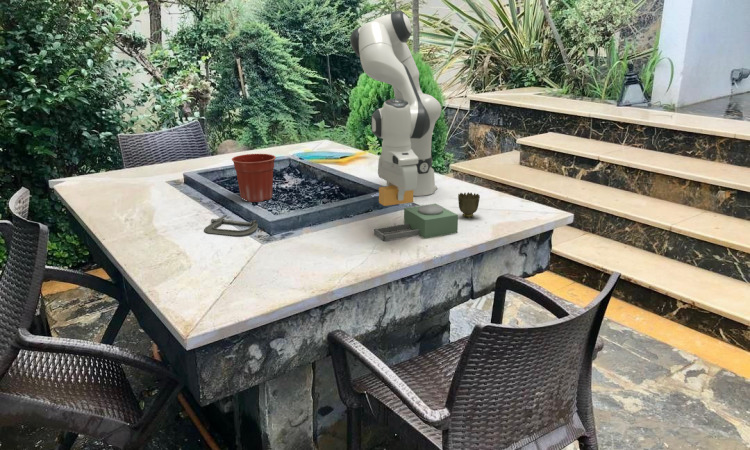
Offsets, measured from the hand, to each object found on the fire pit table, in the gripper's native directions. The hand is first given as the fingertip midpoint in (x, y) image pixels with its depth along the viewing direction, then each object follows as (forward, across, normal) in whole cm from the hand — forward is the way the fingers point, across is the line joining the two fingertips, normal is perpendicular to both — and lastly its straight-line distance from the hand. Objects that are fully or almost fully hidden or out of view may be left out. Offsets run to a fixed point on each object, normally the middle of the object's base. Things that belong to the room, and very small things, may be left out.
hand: (396, 197), depth 180 cm
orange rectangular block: (+2, 0, 0) cm, 2 cm away
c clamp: (+13, -30, -46) cm, 56 cm away
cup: (+12, -5, +30) cm, 33 cm away
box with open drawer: (+12, 0, +6) cm, 14 cm away
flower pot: (+13, -62, -30) cm, 70 cm away
